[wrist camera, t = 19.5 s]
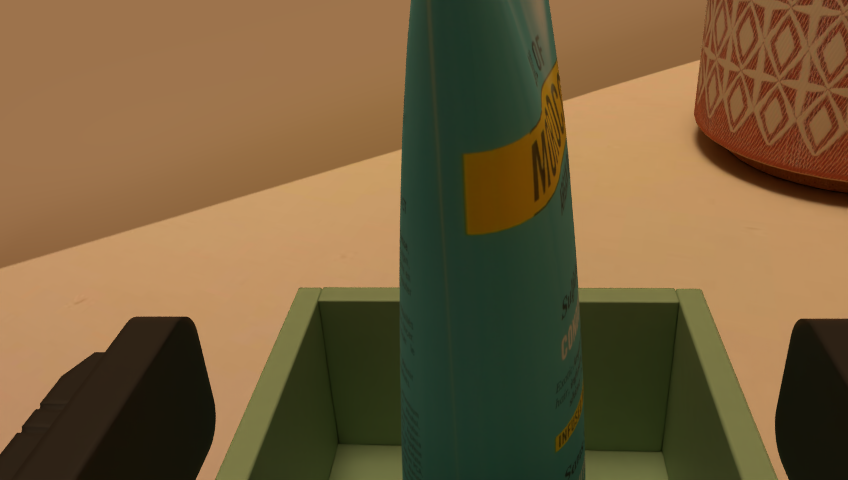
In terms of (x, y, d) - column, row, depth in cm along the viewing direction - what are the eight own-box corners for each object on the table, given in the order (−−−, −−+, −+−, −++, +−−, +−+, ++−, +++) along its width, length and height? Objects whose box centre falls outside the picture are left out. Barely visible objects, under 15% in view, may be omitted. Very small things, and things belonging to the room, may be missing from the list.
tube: (593, 739, 18) (672, -214, 9) (388, 721, 19) (265, -186, 10) (576, 494, 25) (612, -204, 15) (424, 487, 25) (371, -188, 16)
